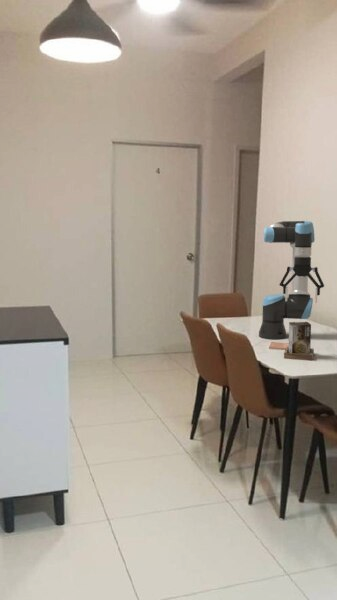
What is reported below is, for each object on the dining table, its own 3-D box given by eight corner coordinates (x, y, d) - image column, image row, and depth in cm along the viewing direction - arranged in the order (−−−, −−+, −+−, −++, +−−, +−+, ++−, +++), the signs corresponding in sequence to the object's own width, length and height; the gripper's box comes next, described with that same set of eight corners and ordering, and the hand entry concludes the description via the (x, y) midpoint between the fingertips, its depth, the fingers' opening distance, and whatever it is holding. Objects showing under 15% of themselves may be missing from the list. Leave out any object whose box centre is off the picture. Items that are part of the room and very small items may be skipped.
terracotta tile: (271, 343, 272) (271, 341, 272) (292, 345, 268) (292, 343, 268) (268, 348, 261) (268, 346, 261) (291, 350, 258) (291, 348, 258)
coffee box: (306, 354, 251) (307, 321, 249) (310, 357, 245) (311, 324, 242) (287, 354, 251) (288, 321, 248) (291, 357, 244) (292, 324, 242)
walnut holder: (286, 351, 256) (286, 346, 255) (313, 353, 252) (313, 348, 252) (283, 358, 244) (284, 353, 243) (312, 360, 240) (312, 355, 239)
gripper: (274, 256, 241) (273, 301, 244) (330, 257, 233) (328, 304, 236) (276, 255, 248) (275, 299, 251) (330, 256, 240) (328, 301, 243)
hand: (301, 301), depth 243 cm, fingers open, 13 cm apart
